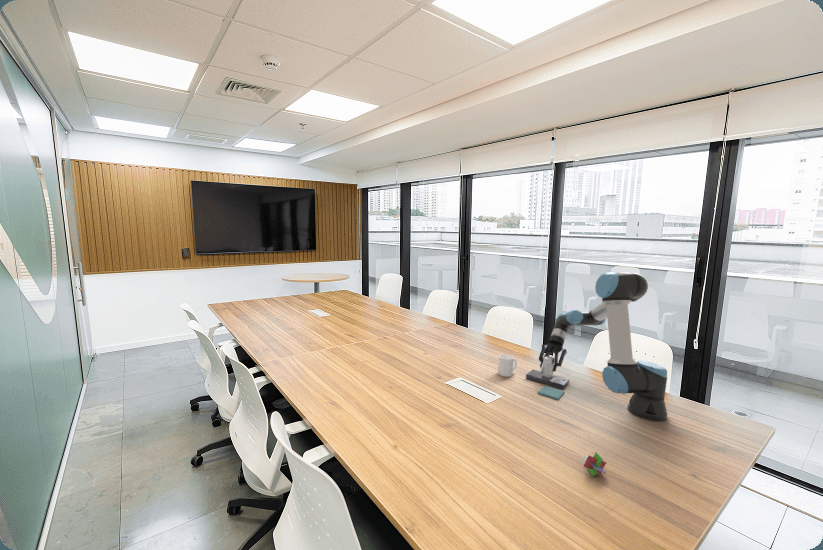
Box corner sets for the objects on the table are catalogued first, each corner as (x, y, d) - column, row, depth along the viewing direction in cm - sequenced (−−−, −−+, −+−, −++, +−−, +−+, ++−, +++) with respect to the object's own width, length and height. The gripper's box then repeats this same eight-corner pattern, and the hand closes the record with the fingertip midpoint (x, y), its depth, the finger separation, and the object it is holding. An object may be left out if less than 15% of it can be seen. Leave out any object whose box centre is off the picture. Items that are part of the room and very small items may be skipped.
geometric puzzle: (604, 460, 122) (592, 443, 121) (616, 474, 116) (603, 455, 115) (586, 472, 123) (574, 455, 122) (597, 486, 116) (585, 468, 115)
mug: (511, 369, 209) (512, 352, 207) (521, 375, 201) (522, 357, 200) (494, 372, 204) (495, 355, 202) (504, 378, 196) (505, 360, 195)
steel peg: (552, 380, 194) (554, 357, 192) (550, 383, 190) (551, 360, 189) (544, 378, 197) (546, 356, 195) (541, 380, 193) (543, 358, 192)
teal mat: (564, 393, 179) (564, 391, 179) (557, 400, 171) (558, 398, 171) (544, 387, 185) (544, 385, 185) (537, 393, 178) (537, 391, 178)
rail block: (569, 383, 191) (569, 379, 191) (563, 389, 183) (563, 384, 183) (532, 373, 204) (533, 369, 203) (525, 378, 196) (526, 374, 196)
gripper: (574, 345, 198) (563, 382, 187) (543, 338, 209) (531, 373, 198) (572, 338, 193) (561, 375, 182) (541, 331, 204) (528, 366, 193)
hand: (545, 374), depth 190 cm, fingers closed on steel peg, 4 cm apart
